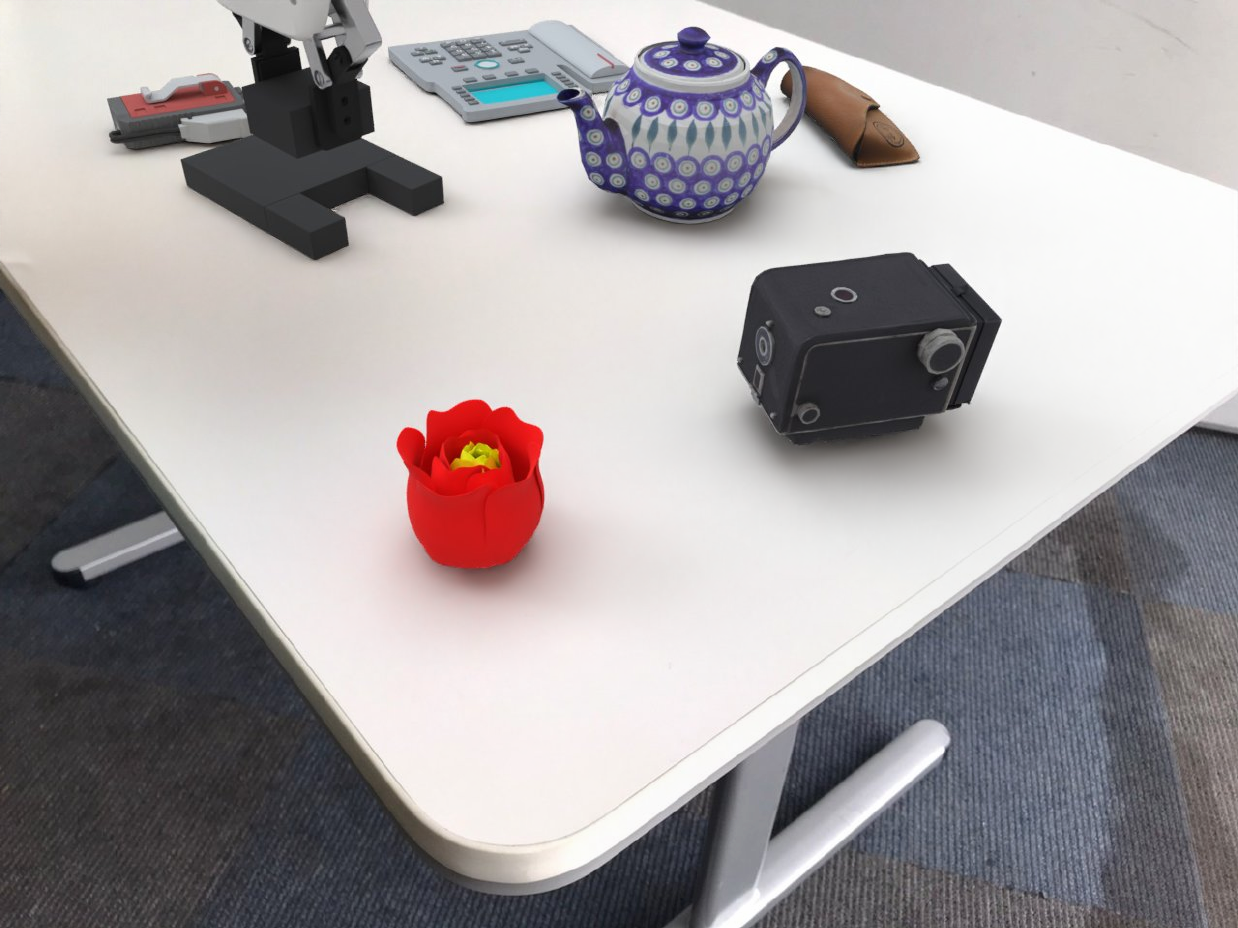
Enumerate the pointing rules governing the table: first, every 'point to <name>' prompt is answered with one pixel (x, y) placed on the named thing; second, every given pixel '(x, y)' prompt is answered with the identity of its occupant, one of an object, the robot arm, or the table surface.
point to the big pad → (307, 187)
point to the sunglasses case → (852, 120)
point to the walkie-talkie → (180, 113)
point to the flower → (473, 484)
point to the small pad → (292, 112)
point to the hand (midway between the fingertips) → (312, 126)
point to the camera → (862, 345)
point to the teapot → (685, 127)
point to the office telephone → (509, 69)
